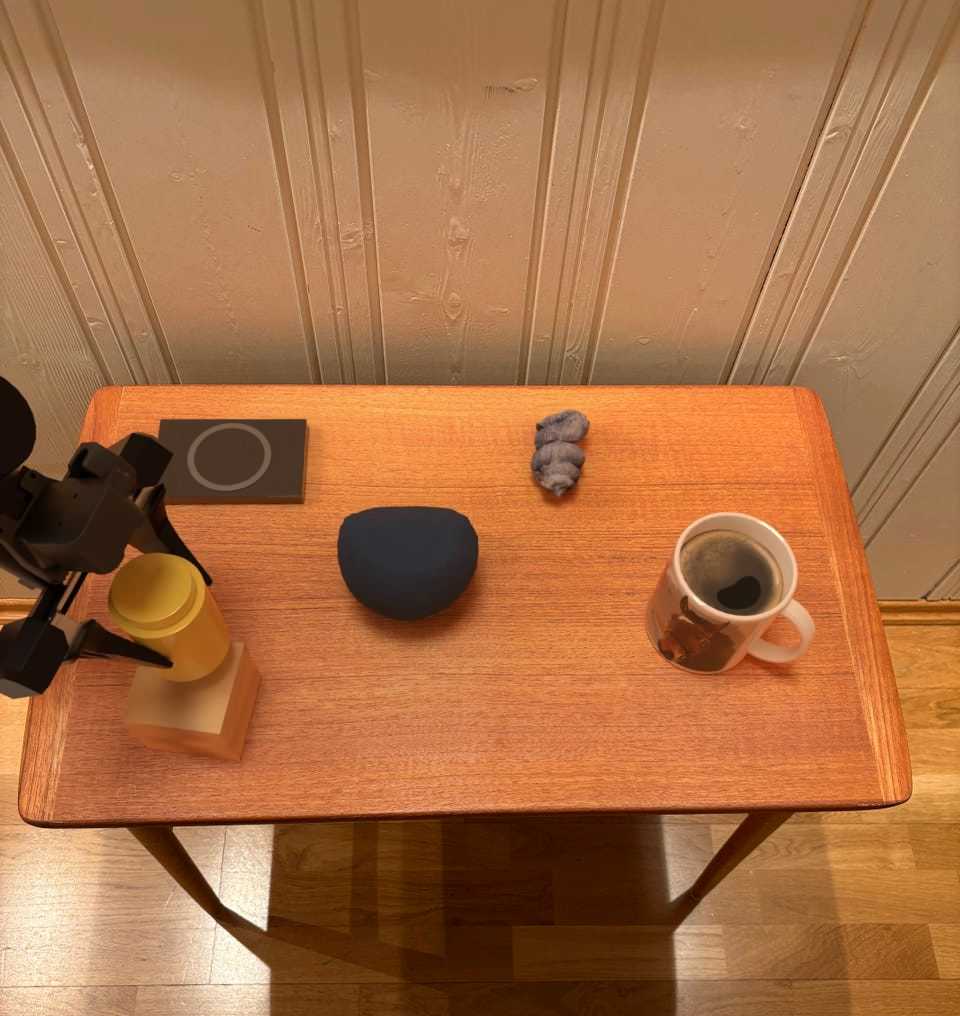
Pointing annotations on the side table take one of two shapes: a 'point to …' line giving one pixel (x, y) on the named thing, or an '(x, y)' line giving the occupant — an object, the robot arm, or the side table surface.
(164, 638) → the jar
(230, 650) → the cube
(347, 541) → the decorative stone
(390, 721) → the side table surface
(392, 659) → the side table surface
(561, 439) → the seashell
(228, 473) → the hob
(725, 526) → the mug
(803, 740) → the side table surface
